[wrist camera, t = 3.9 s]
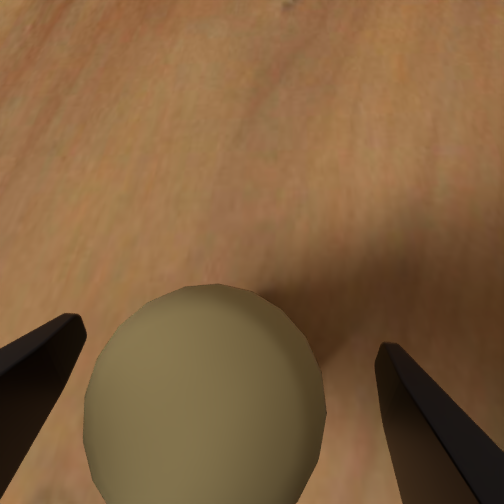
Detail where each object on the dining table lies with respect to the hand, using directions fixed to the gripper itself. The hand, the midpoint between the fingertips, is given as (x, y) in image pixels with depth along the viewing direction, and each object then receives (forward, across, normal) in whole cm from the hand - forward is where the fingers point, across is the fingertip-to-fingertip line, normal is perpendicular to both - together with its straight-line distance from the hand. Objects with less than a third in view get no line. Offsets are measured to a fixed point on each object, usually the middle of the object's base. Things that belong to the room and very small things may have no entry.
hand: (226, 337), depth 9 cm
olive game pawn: (+4, 0, +6) cm, 8 cm away
